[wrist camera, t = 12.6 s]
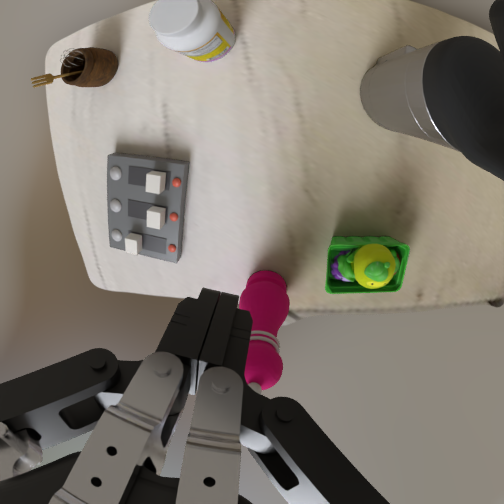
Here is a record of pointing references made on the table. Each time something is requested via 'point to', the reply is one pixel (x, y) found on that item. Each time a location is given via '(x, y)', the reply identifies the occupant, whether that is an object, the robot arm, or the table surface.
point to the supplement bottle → (192, 28)
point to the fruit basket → (365, 264)
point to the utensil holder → (84, 68)
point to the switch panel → (146, 203)
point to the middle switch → (156, 217)
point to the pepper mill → (264, 327)
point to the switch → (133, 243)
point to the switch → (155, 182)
